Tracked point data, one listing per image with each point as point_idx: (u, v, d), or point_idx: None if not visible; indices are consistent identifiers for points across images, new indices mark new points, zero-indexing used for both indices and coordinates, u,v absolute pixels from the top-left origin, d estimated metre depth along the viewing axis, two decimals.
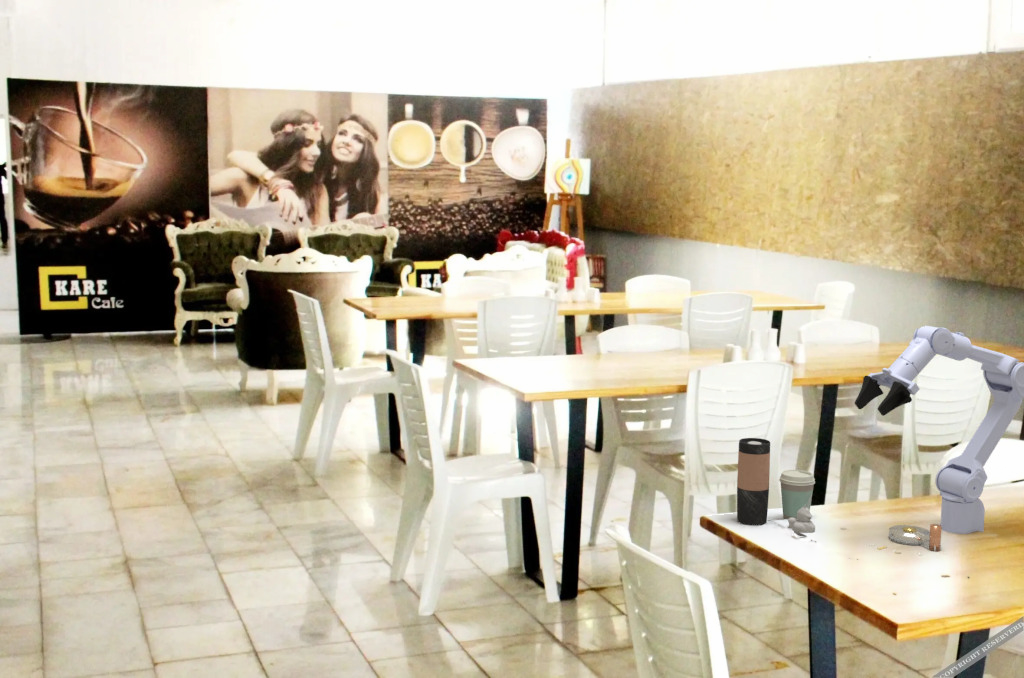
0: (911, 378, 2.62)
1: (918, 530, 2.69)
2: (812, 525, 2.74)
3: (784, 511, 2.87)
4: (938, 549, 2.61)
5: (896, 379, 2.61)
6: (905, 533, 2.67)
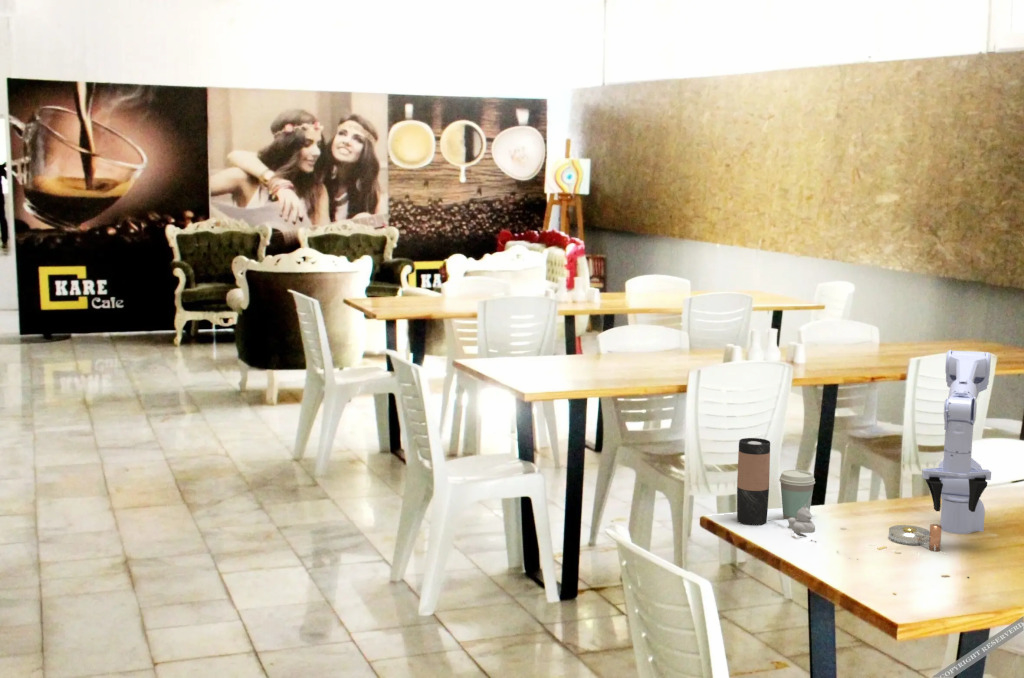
0: None
1: (918, 530, 2.69)
2: (812, 525, 2.74)
3: (784, 511, 2.87)
4: (938, 549, 2.61)
5: None
6: (905, 533, 2.67)
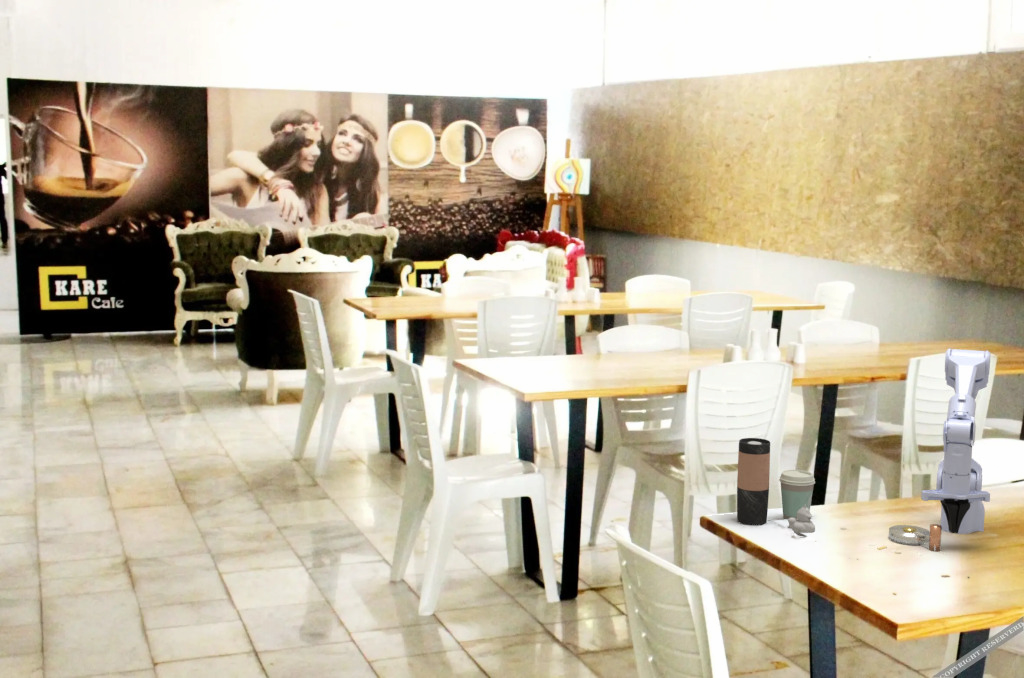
0: None
1: (918, 530, 2.69)
2: (812, 525, 2.74)
3: (784, 511, 2.87)
4: (938, 549, 2.61)
5: None
6: (905, 533, 2.67)
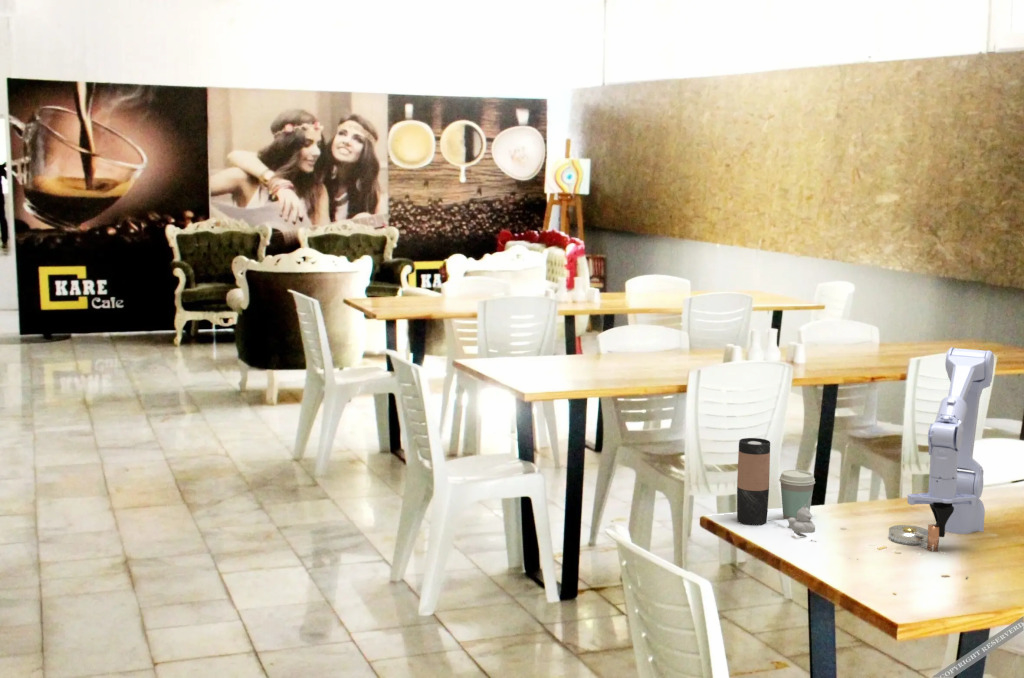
0: None
1: (918, 530, 2.69)
2: (812, 525, 2.74)
3: (784, 511, 2.87)
4: (936, 549, 2.61)
5: None
6: (904, 533, 2.67)
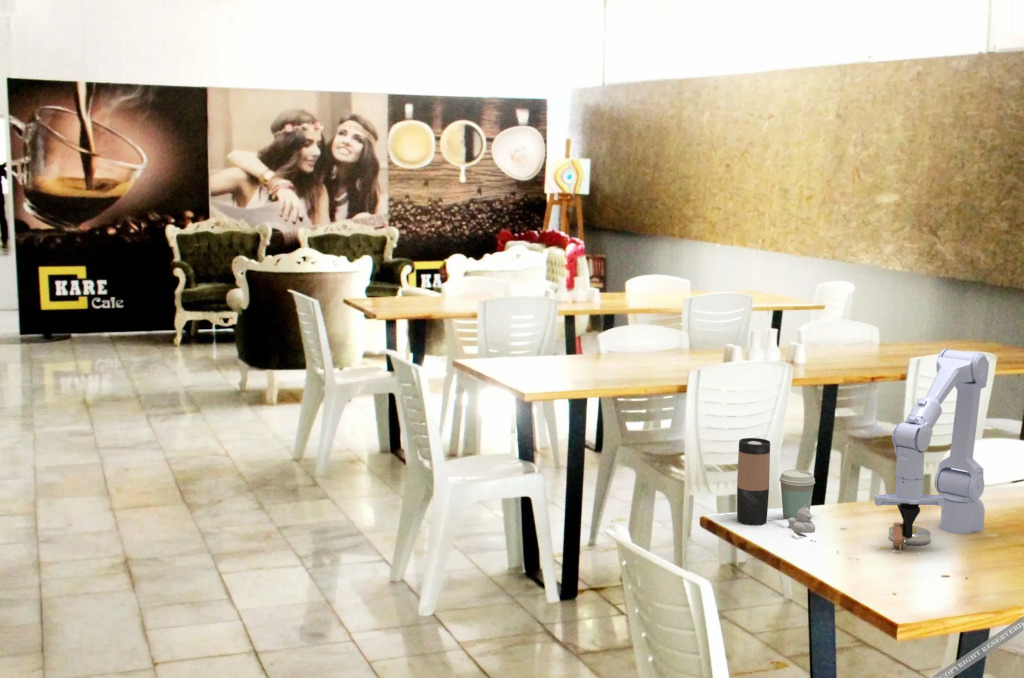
0: None
1: (918, 533, 2.67)
2: (812, 525, 2.74)
3: (784, 511, 2.87)
4: (896, 547, 2.62)
5: None
6: None
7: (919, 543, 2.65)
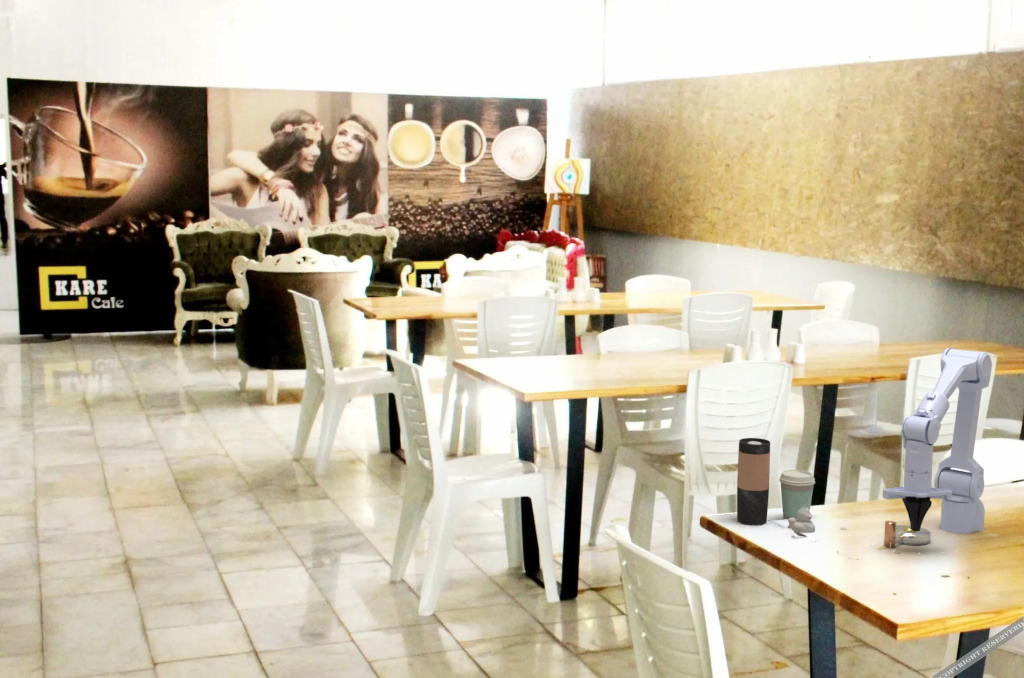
0: None
1: (916, 533, 2.67)
2: (812, 525, 2.74)
3: (784, 511, 2.87)
4: (886, 545, 2.63)
5: None
6: (897, 529, 2.70)
7: (914, 543, 2.65)
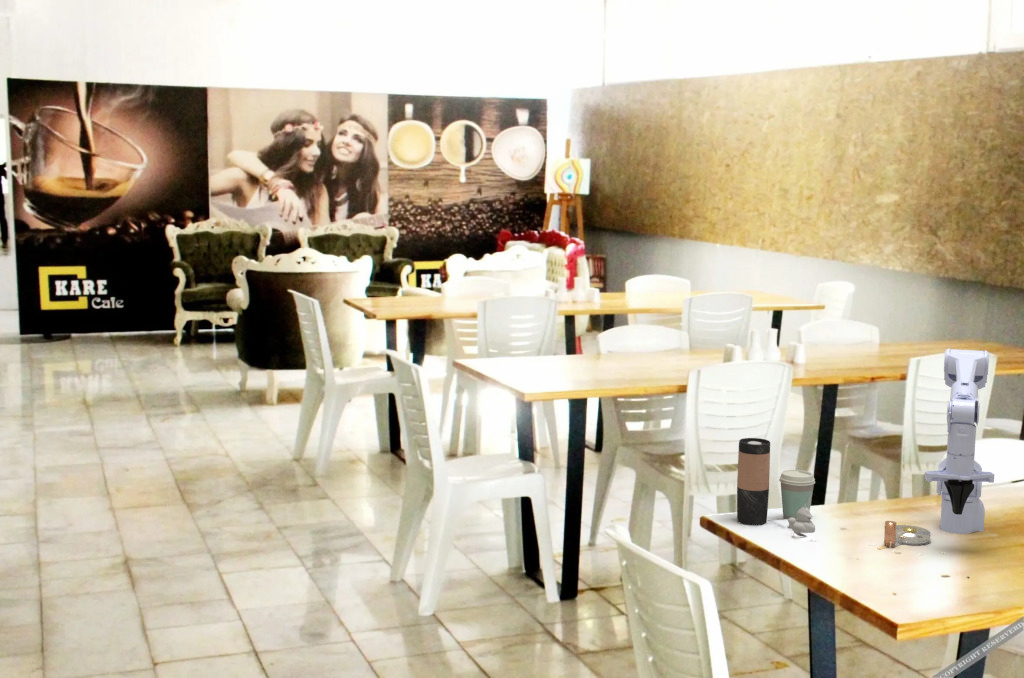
0: None
1: (916, 533, 2.67)
2: (812, 525, 2.74)
3: (784, 511, 2.87)
4: (886, 545, 2.63)
5: None
6: (897, 529, 2.70)
7: (914, 543, 2.65)
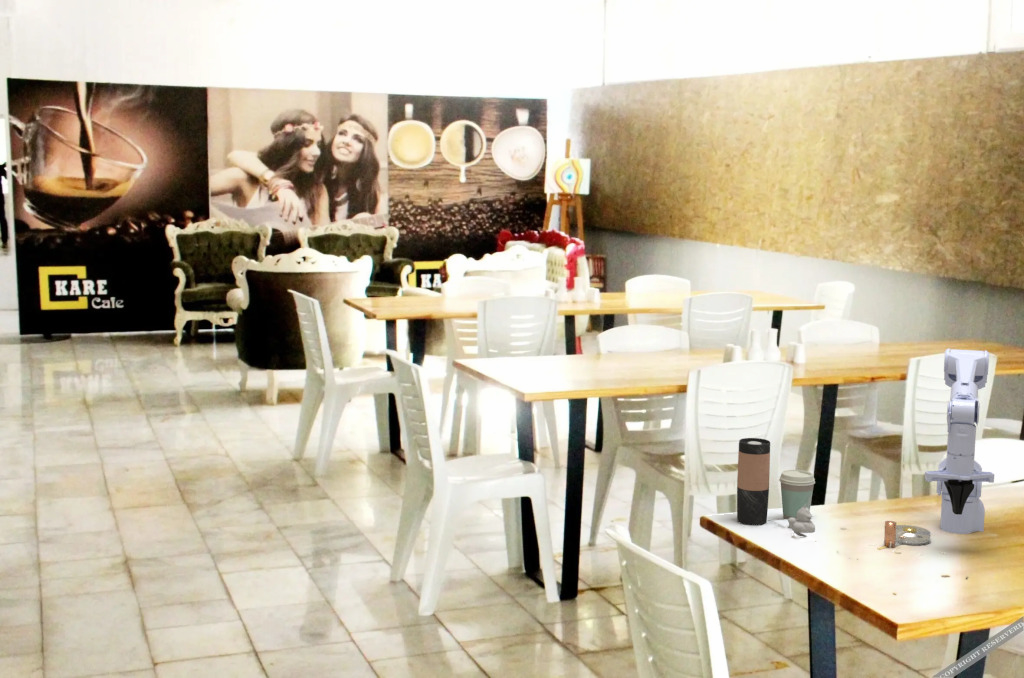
0: None
1: (916, 533, 2.67)
2: (812, 525, 2.74)
3: (784, 511, 2.87)
4: (886, 545, 2.63)
5: None
6: (897, 529, 2.70)
7: (914, 543, 2.65)
